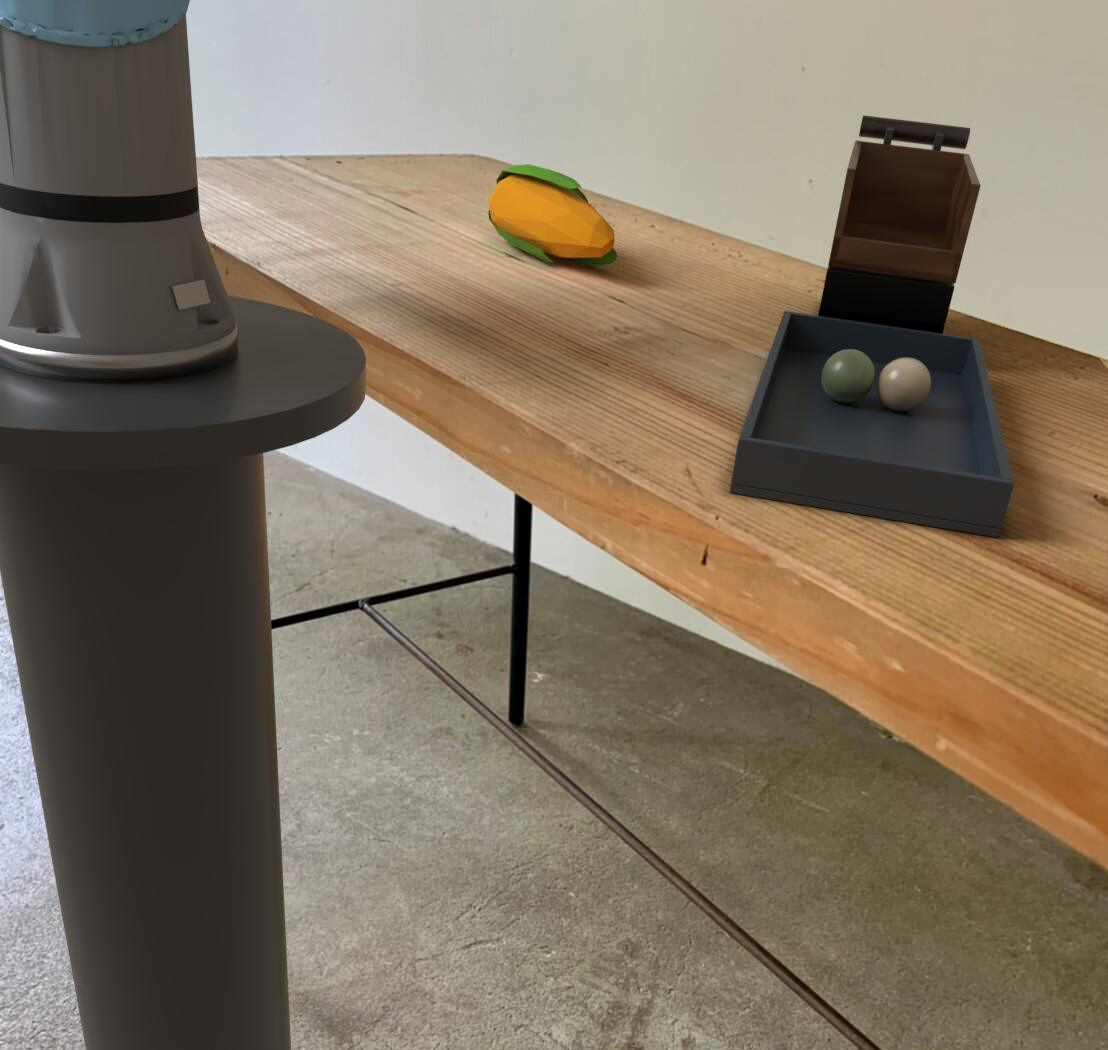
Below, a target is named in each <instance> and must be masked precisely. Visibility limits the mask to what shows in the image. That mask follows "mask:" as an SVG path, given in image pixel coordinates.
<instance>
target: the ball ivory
mask: <svg viewBox="0 0 1108 1050" xmlns="http://www.w3.org/2000/svg"><path fill="white" fill-rule="evenodd" d="M930 389H931V376H930V373H929V371H928V369H927V367H926V366H925V365H924V364H923V363H922V362H920V361H919V360H917V359H914V358H909V357H903V358H898V359H895V360H893V361H891V362H890V363H889V364H887V365H886V366H885V367H884V368H883V370H882V371H881V373H880V375H879V377H878V380H877V393H878V396H879V398H880V400H881V402H882V403H883V404H884V405H885V406H886V407H888V408H889V409H891V410H894V411H898V412H906V411H911V410H913V409H915V408H917V407H918V406H920V405H921V404H922V403H923V402H924V401H925V400H926V398H927V396H928V395H929V392H930Z"/></svg>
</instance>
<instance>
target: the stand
mask: <svg viewBox="0 0 1108 1050" xmlns="http://www.w3.org/2000/svg"><path fill="white" fill-rule="evenodd" d="M954 291H955V284H954V283H947V282H939V281H932V280H925V279H918V278H910V277H903V276H896V275H889V274H881V273H874V272H867V271H860V270H852V269H845V268H838V267H831V266H828V265H827V269H826V274H825V278H824V284H823V289H822V294H821V299H820V303H819V308H818V309H819V310H818V315H817V316H824V317H831V318H837V319H844V320H851V321H858V322H865V323H872V324H879V325H886V326H893V327H900V328H907V329H914V330H921V331H928V332H935V333H941V334H944V330H945V325H946V322H947V318H948V315H949V311H950V307H951V303H952V300H953V295H954Z"/></svg>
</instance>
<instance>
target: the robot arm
mask: <svg viewBox="0 0 1108 1050" xmlns="http://www.w3.org/2000/svg"><path fill="white" fill-rule="evenodd" d="M190 2H191V0H0V365H1V366H3V367H5V368H8V369H10V370H13V371H16V372H20V373H23V374H27V375H32V376H36V377H41V378H47V379H54V380H62V381H71V382H84V383H142V382H155V381H164V380H172V379H178V378H184V377H189V376H194V375H198V374H202V373H205V372H208V371H211V370H214V369H217V368H219V367H221V366H223V365H225V364H227V363H228V362H230V361H231V360H232V359H234V358H235V356H236V355H237V353H238V335H237V322H236V320H235V316H234V312H233V309H232V307H231V304H230V301H229V299H228V296H229V295H228V294H227V291H226V288H225V286H224V282H223V280H222V278H221V274H220V272H219V269H218V266H217V264H216V261H215V259H214V256H213V253H212V251H211V248H210V245H209V242H208V240H207V237H206V234H205V231H204V229H203V225H202V221H201V220H202V219H201V212H200V210H201V209H200V199H199V197H200V195H199V180H198V179H199V178H198V165H197V152H196V140H195V137H196V136H195V124H194V110H193V98H192V96H193V95H192V83H191V82H192V81H191V68H190V67H191V65H190V53H189V51H190V50H189V39H188V37H189V36H188V25H187V23H188V21H187V12H188V10H189V6H190Z"/></svg>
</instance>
